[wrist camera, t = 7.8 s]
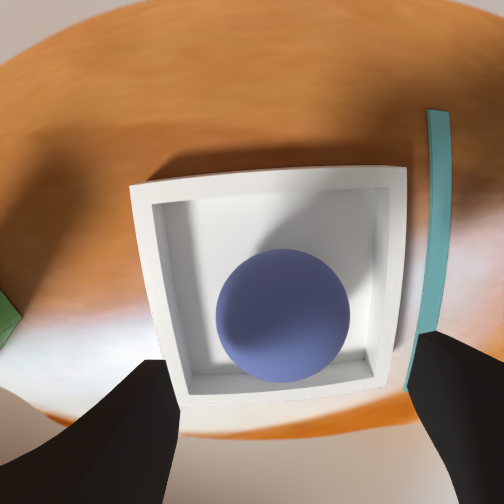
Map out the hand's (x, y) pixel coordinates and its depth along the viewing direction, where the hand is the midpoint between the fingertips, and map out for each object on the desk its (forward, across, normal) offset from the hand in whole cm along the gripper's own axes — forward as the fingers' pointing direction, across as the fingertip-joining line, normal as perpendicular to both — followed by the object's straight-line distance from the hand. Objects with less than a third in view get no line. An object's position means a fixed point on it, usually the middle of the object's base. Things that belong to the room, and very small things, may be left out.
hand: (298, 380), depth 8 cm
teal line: (+7, -8, 0) cm, 11 cm away
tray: (+7, 0, 0) cm, 7 cm away
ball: (+4, 0, 0) cm, 4 cm away
